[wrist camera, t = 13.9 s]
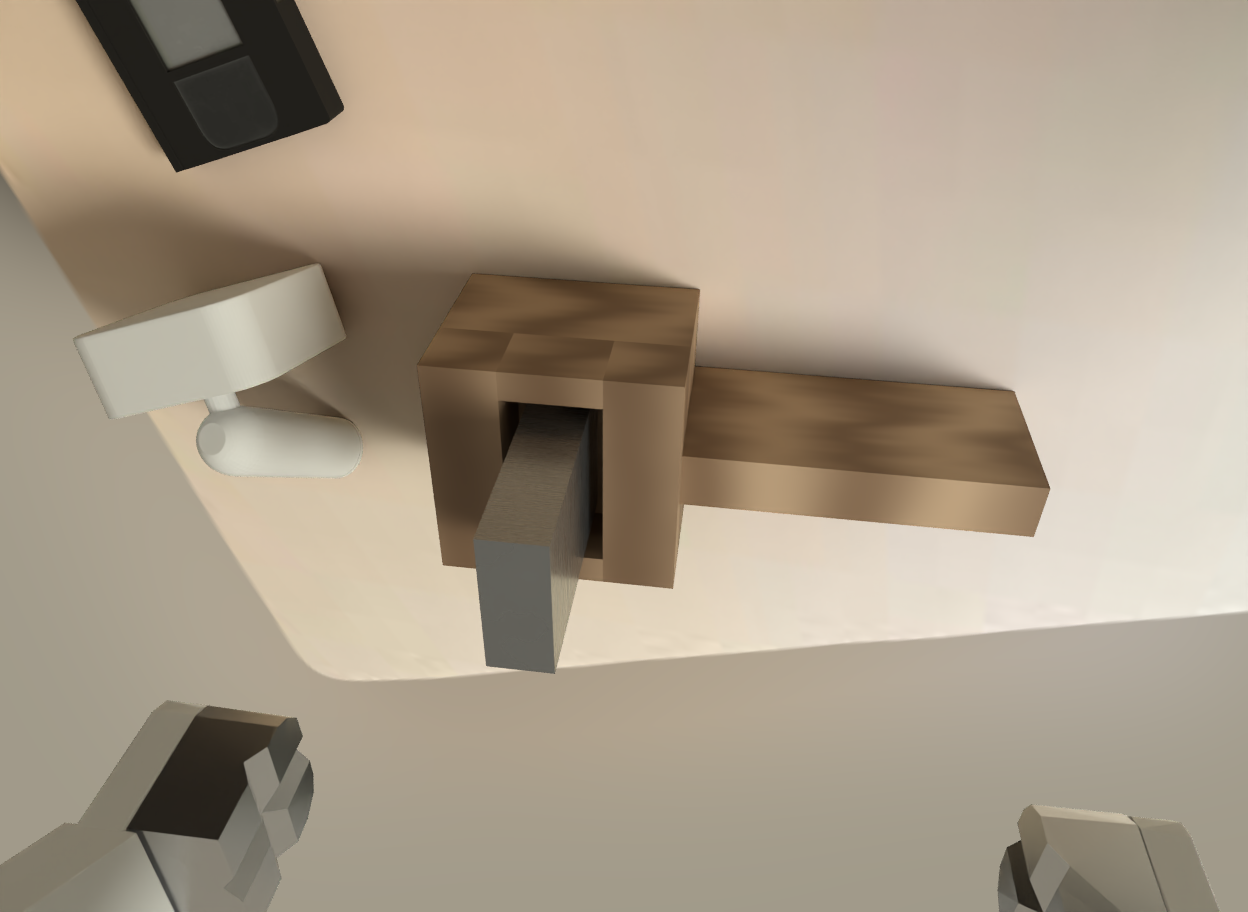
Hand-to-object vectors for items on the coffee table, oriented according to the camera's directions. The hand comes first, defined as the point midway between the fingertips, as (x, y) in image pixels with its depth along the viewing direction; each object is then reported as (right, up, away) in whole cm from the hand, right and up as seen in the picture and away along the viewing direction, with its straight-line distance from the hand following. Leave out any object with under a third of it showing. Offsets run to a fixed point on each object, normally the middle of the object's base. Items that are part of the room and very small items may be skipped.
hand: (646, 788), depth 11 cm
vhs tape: (-17, +23, +26) cm, 39 cm away
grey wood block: (-3, +4, +30) cm, 30 cm away
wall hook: (-16, +9, +35) cm, 40 cm away
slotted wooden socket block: (+5, +7, +33) cm, 34 cm away
